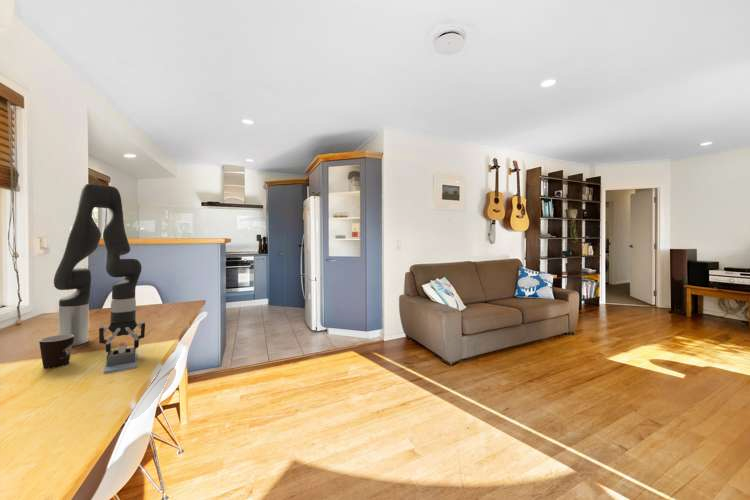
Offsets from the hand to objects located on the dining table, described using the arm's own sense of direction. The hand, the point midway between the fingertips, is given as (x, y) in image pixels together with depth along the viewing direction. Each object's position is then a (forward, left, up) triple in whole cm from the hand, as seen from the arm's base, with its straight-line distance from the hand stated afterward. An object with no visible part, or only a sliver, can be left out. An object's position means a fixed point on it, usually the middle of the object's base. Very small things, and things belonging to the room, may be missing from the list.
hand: (122, 350), depth 116 cm
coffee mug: (-5, -17, -3) cm, 18 cm away
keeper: (+6, 0, -3) cm, 7 cm away
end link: (+3, 0, -2) cm, 3 cm away
